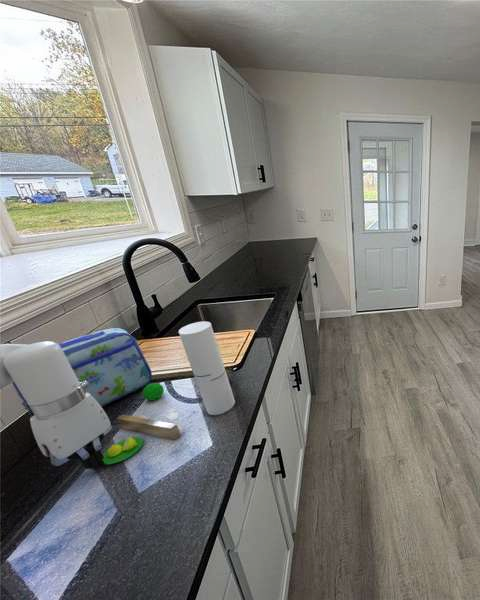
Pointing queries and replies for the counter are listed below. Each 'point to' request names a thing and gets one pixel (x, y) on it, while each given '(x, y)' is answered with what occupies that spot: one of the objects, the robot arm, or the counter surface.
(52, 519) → the counter surface
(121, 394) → the lunch box
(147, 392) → the polyhedron
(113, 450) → the plate of yellow fruit
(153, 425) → the rail
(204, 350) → the cylindrical container
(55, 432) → the robot arm
